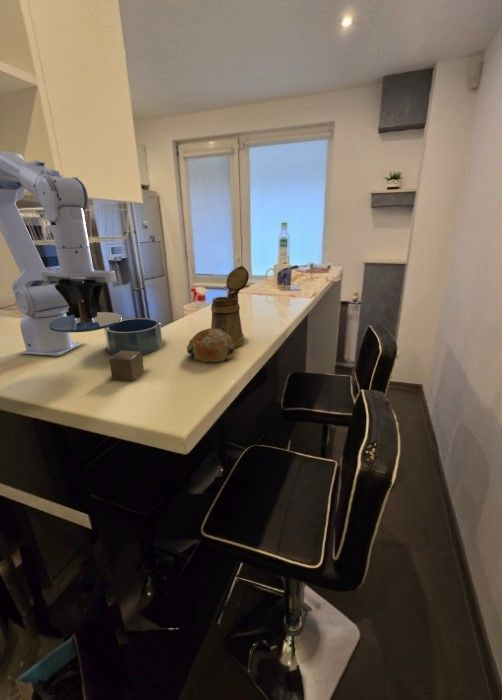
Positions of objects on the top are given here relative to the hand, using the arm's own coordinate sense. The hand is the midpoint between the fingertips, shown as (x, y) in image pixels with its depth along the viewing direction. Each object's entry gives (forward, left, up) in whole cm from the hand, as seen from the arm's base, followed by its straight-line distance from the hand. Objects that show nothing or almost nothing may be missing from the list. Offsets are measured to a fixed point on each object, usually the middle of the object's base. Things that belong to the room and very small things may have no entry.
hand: (86, 317), depth 67 cm
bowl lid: (0, 0, -1) cm, 1 cm away
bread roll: (+23, +9, -10) cm, 27 cm away
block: (+10, -4, -10) cm, 15 cm away
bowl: (+3, +12, -10) cm, 16 cm away
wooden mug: (+25, +20, -10) cm, 34 cm away
